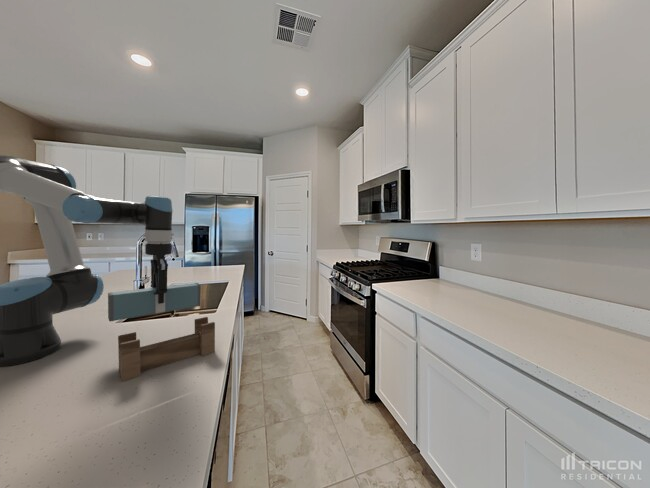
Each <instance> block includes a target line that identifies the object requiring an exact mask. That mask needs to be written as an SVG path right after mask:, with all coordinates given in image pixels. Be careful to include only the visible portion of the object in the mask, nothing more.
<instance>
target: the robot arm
mask: <svg viewBox="0 0 650 488" xmlns="http://www.w3.org/2000/svg"><path fill="white" fill-rule="evenodd" d="M0 193H3V194H14V195H17V196H20V197H23V199H24V202H25V203H27V204H29V205H31V206H32V208H33V211H34V215H35V219H36V222H37V226H38V231H39V233H40V237H41V240H42V241H41V242H42V244H43V248H44V252H45V255H46V259H47V263H48V266H49V269H50V271H49V272H48V273H47V274H46V275H45V276H35V277H29V278H22V279H17V280H12V281H8V282H5V283H3V284H0V367H8V366H15V365H20V364H25V363H29V362H32V361H36V360H38V359H42V358H44V357H47V356H50V355H52V354H54V353H56V352H57V351H59V350H60V349H61V347H62V339H61V337H60V335H59V334H58V332H57V330H56V329H55V327H54V322H53V321H54V320H53V315H56V314H60V313H63V312H67V311H70V310H75V309H78V308H83V307H87V306H89V305H92V304H94V303H96V302H97V301H99V299H100V298H101V296H102V295H103V292H104V281H103V279H102V277H101V276H99V274H96V273H93V272H92V270H91V267H88V266H87V265H85V264H84V262H83V261H84V260H83V257H82V254H81V251H80V246H79V243H78V240H77V235H76V232H75V228H74V225H73V222H74V223H82V224H113V225H114V224H117V225H144V241H145V242H146V243H145V244H144V245H145V246H144V247H145V249H144V250H145V251H144V253H145V254H146V255H148V256H152V259H150V288H156V293H154V295H155V313H156V314H161V312H162V313H166V312H165V293H166V292H167V286H168V269H169V268H168V267H169V263H168V260H167V259H166V256H167V255H172V252H173V245H172V243H171V242H172V240H173V239H172V237H173V236H174V233H173V228H172V227H173V226H172V224H173V211H174V210H173V205H172V199H170V198H169V197H165V196H159V195H157V196H155V195H148V196H145V201H144V202H141V201H137V202H136V201H127V200H126V201H125V200H119V199H118V200H117V199H111V198H110V199H109V198H103V197H97V196H94V195H92V194H88V193H87V192H84V191H82V190H78V189H77V182H76V179H75V177H74V176H73V174H72V173H71V172H69V171H68V170H67V169H65V168H64V167H61V166H57V165H54V164H50V163H43V162H40V161H34V160H30V159H24V158H20V157H16V156H13V155H12V156H11V155H1V154H0Z"/></svg>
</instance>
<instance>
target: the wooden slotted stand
mask: <svg viewBox="0 0 650 488" xmlns="http://www.w3.org/2000/svg"><path fill="white" fill-rule="evenodd" d="M215 332H216V322H215V321H212V322H209V318H208V316H204V317H200V318H195V319H194V333H191V334H187V335H183V336H180V337H175V338H172V339H168V340H163V341H159V342H155V343H152V344H148V345H142V346H141V340H140V339H139V338H137V332H136V331H135V332H130V333H124V334H121V335H117V343H118V344H117V345H118V351H117V352H118V354H117V355H118V372H119V376H120V380H121V382H124V381H129V380H131V379H134V378H138V377H140V376H141V373H143V372H145V371H147V370H148V371H149V370H151V369H155V368H158V367H162V366H164V365H165V366H166V365H168V364H171V363H175V362H178V361H181V360H184V359H188V358H190V357H194V356H198V355H200V356H201V357H205V356H207V355H210V354H214V353H215V352H216V333H215Z"/></svg>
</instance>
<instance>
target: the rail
mask: <svg viewBox="0 0 650 488" xmlns="http://www.w3.org/2000/svg"><path fill="white" fill-rule="evenodd" d="M201 286H202V285H201V284H200V283H198V282H192V283H185V284H175V285H167V292H166V293H165V312H164V313H167V312H174V311H178V310H180V311H181V310H185V309H191V308H192V309H193V308H196V307H201V304H202V303H201V300H202V298H201V297H202V291H201V290H202V287H201ZM154 293H156V288H152V287H149V288H147V287H146V288H140V289H131V290H121V291H111V292H107V310H108V311H107V314H108V316H107V319H108V321H109V322H115V321H120V320H121V321H122V320H126V319H133V318H139V317H143V316H149V315H155V314H157V313H155V295H154ZM161 313H163V312H161ZM161 313H160V314H161Z"/></svg>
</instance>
